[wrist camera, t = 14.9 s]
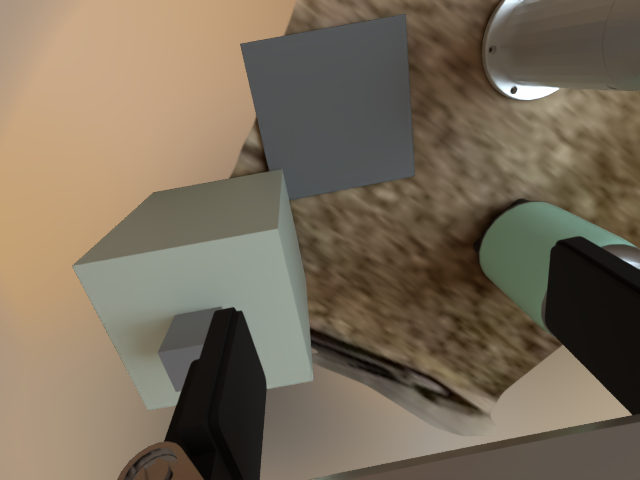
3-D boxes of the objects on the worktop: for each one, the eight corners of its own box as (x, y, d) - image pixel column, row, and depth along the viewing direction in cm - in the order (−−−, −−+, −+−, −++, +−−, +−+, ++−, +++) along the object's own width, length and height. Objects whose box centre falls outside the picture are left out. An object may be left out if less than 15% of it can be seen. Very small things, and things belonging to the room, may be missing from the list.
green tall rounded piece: (584, 235, 54) (1020, 463, 22) (516, 299, 58) (809, 575, 26) (504, 159, 48) (948, 324, 16) (433, 236, 52) (683, 495, 20)
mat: (403, 14, 40) (405, 14, 39) (413, 174, 47) (414, 175, 47) (240, 44, 39) (240, 43, 39) (276, 201, 47) (276, 202, 46)
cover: (282, 168, 45) (275, 255, 24) (305, 279, 52) (316, 421, 31) (153, 192, 45) (35, 299, 24) (194, 299, 52) (129, 455, 31)
